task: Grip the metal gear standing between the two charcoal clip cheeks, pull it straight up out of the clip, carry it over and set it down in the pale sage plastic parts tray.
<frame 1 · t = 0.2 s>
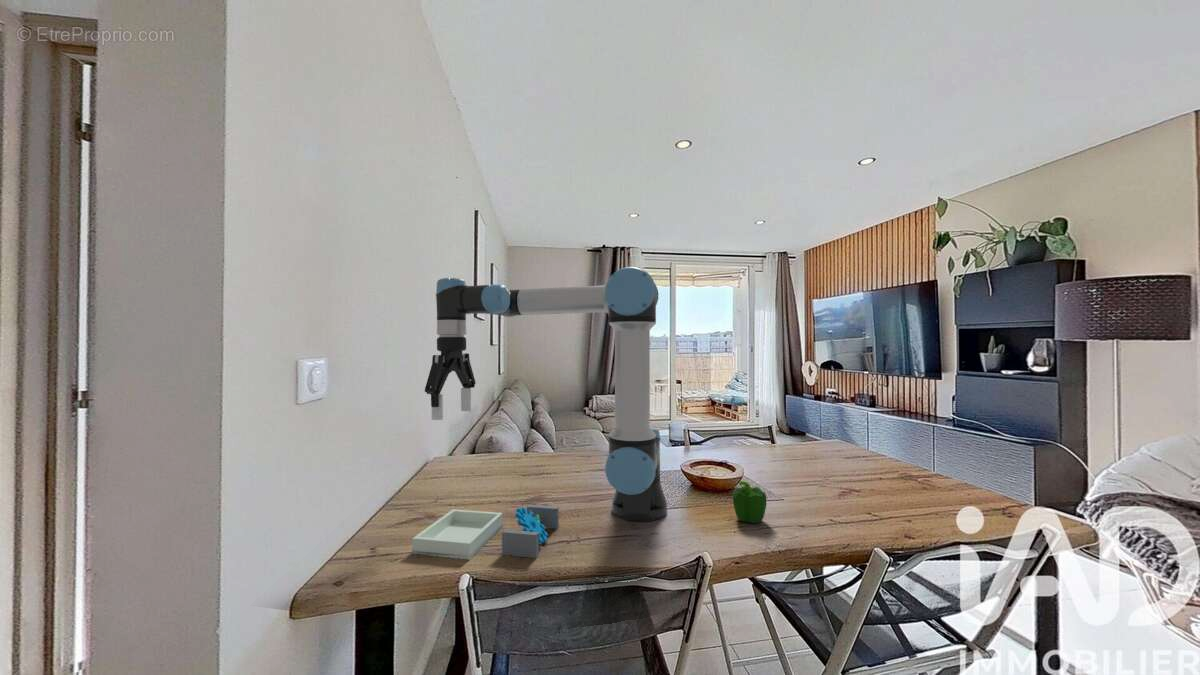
hand: (452, 415, 118), 28 cm above the table, fingers open, 13 cm apart
bell pepper: (749, 520, 114), on the table
gear: (532, 540, 104), on the table
fuse clip: (532, 539, 104), on the table
parts tray: (460, 539, 105), on the table
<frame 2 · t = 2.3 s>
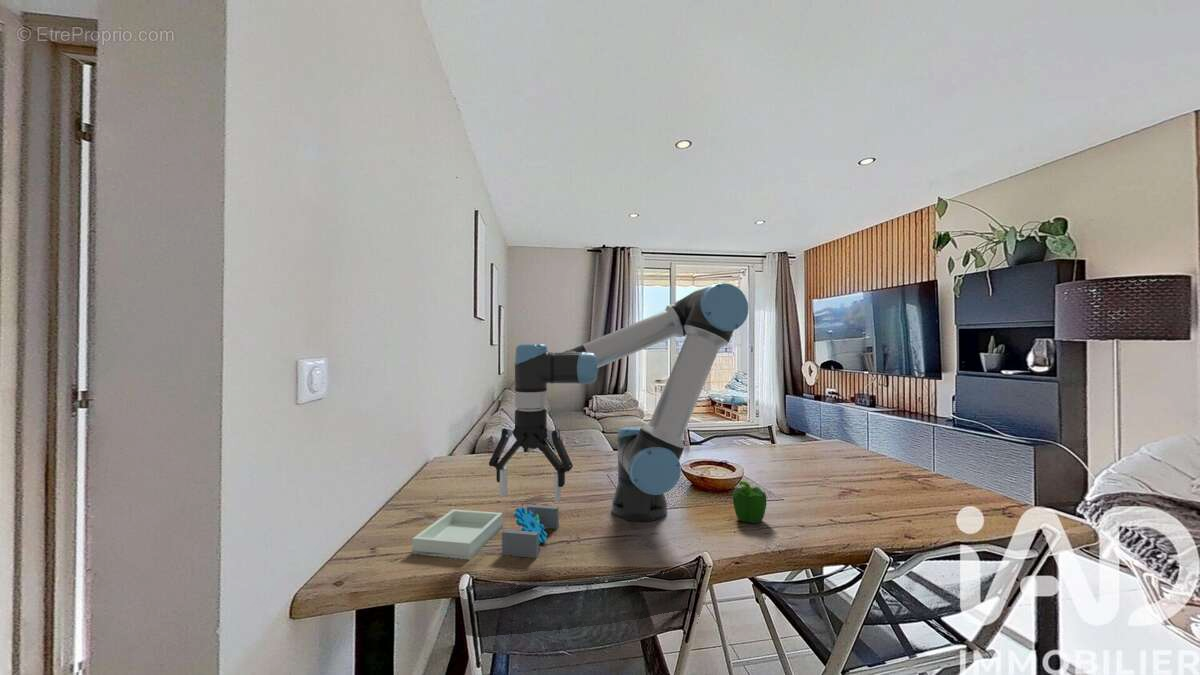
hand: (530, 498, 104), 10 cm above the table, fingers open, 13 cm apart
nothing on the table moved.
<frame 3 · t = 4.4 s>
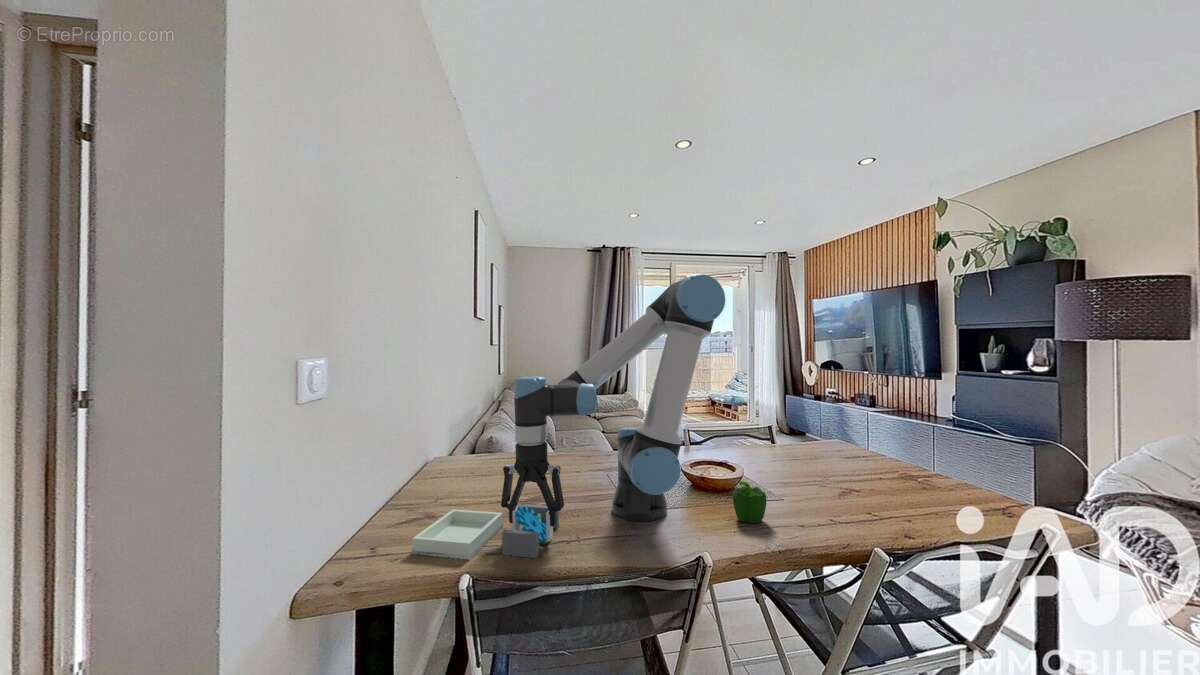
hand: (533, 537, 104), 0 cm above the table, fingers closed on gear, 8 cm apart
gear: (532, 539, 104), on the table, touching gripper
everything else where it was.
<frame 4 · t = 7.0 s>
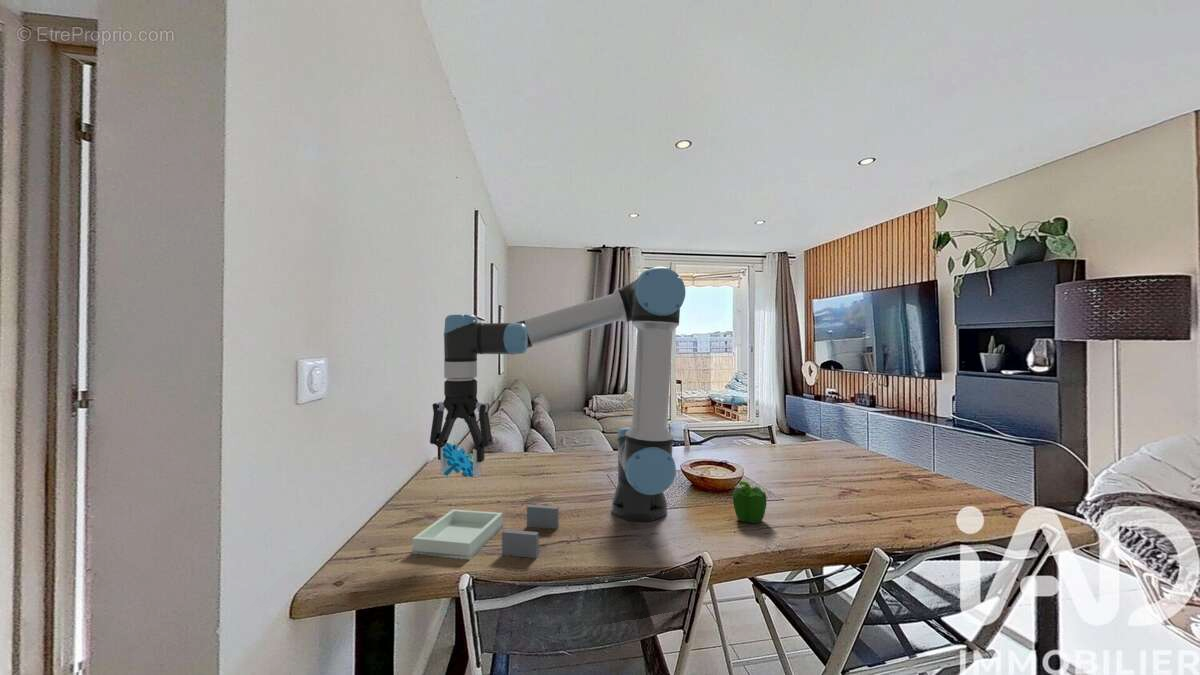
hand: (461, 474, 105), 16 cm above the table, fingers closed on gear, 8 cm apart
gear: (460, 476, 105), point 15 cm above the table, touching gripper
everything else where it was.
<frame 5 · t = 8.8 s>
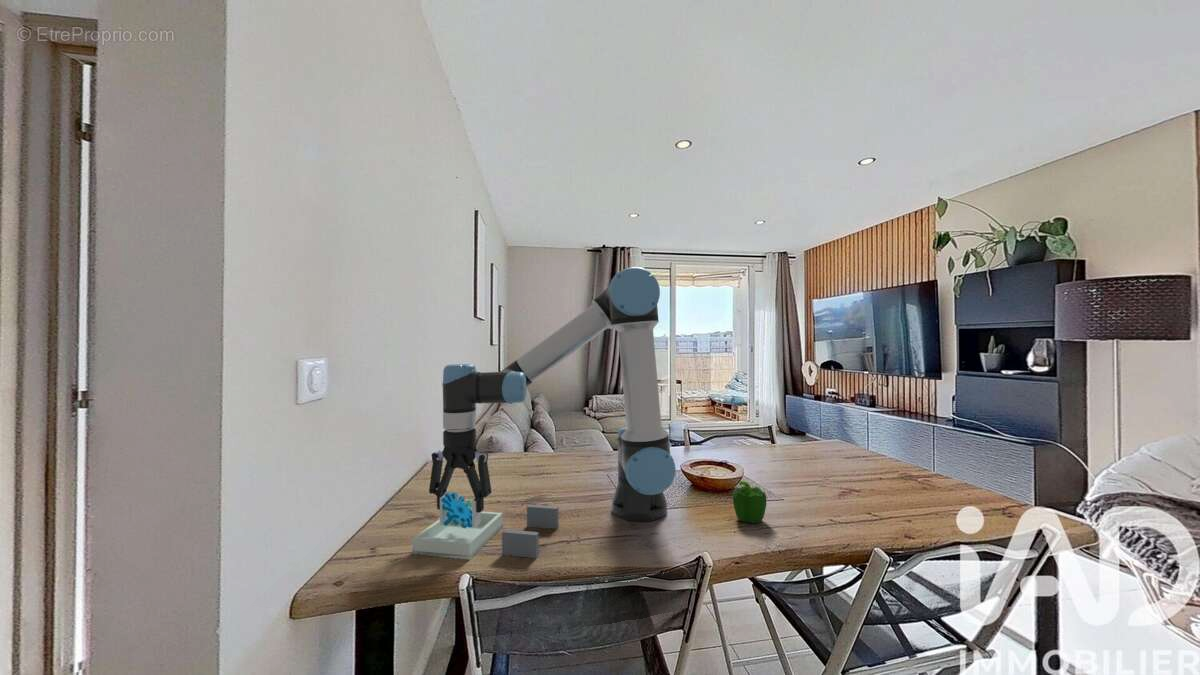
hand: (460, 523, 105), 4 cm above the table, fingers closed on gear, 8 cm apart
gear: (460, 525, 105), point 3 cm above the table, touching gripper
everything else where it was.
when the fingers open (3 cm above the table, at t = 9.7 s): gear drops 2 cm, resting on parts tray.
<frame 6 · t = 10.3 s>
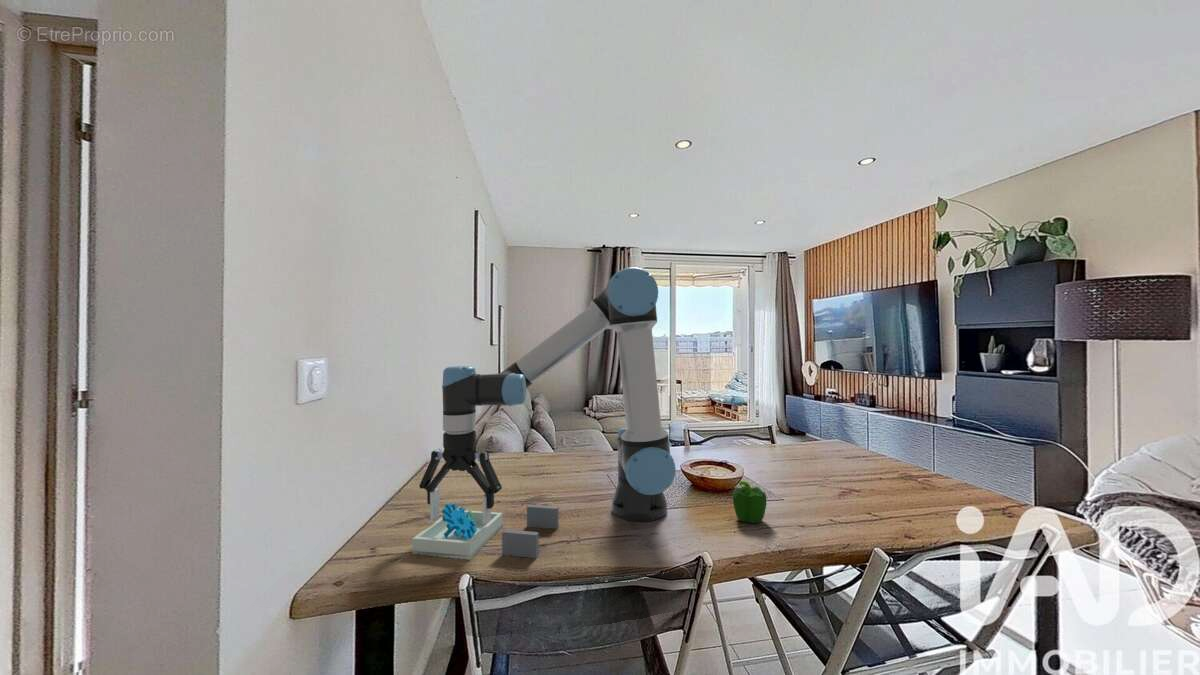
hand: (460, 519, 105), 5 cm above the table, fingers open, 13 cm apart
gear: (460, 536, 105), point 1 cm above the table, touching parts tray
everything else where it was.
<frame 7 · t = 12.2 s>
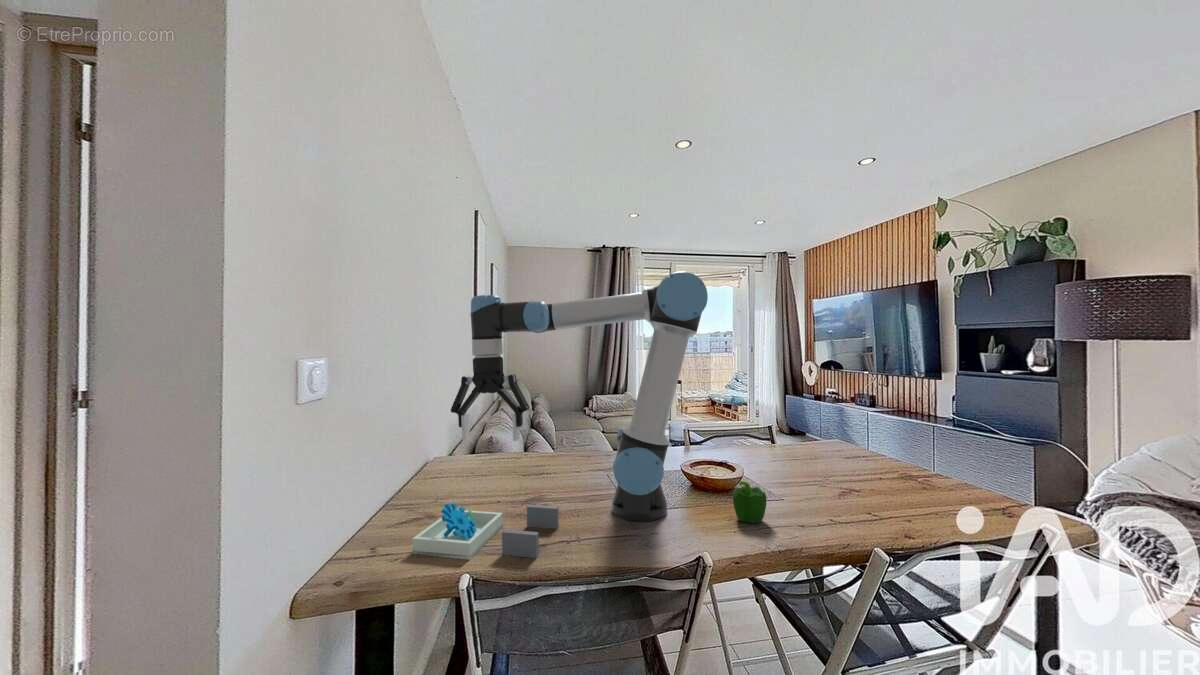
hand: (491, 439, 111), 22 cm above the table, fingers open, 13 cm apart
nothing on the table moved.
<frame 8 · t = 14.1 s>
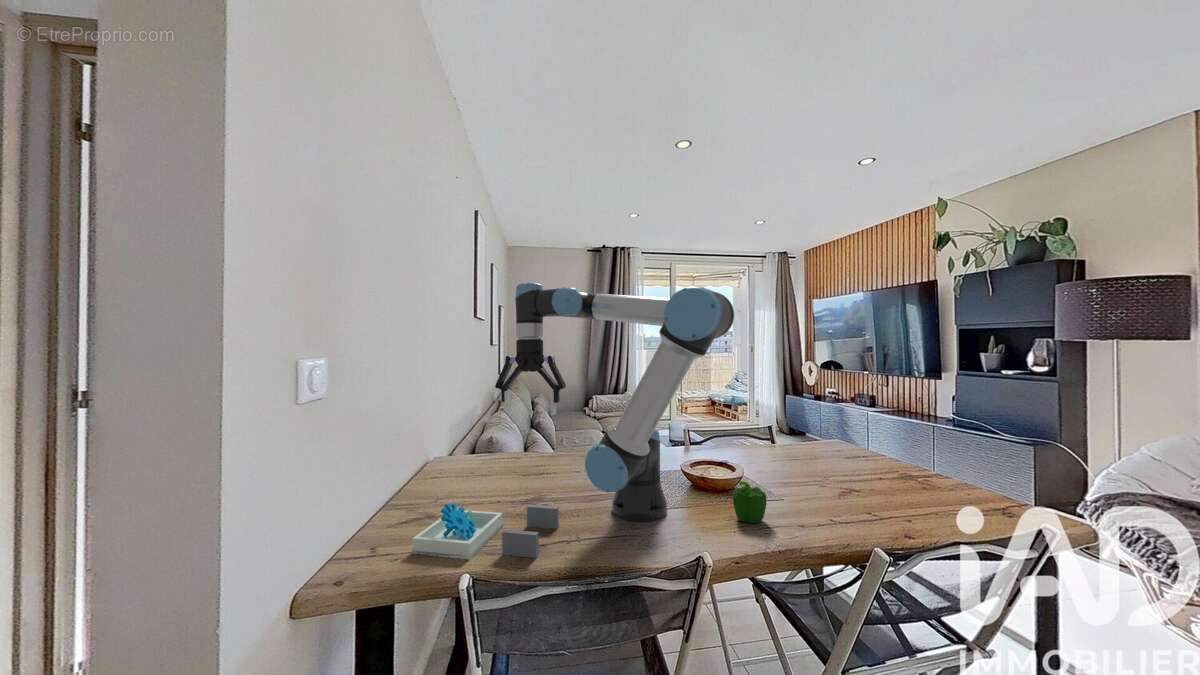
hand: (530, 414, 123), 27 cm above the table, fingers open, 13 cm apart
nothing on the table moved.
at the end: gear inside the target area on the parts tray (0.3 cm from its centre), point 0.6 cm above the parts tray's base; the gripper is holding nothing; gear moved 17.5 cm from its start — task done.
